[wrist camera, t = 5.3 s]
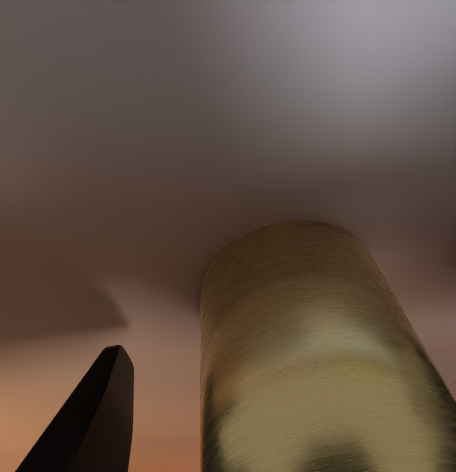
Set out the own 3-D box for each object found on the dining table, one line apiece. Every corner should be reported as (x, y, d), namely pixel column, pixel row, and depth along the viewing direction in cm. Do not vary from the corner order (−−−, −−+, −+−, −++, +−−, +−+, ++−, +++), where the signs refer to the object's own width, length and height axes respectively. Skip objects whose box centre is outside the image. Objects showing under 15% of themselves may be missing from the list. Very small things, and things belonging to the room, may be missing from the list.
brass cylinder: (372, 333, 12) (495, 601, 7) (219, 359, 12) (233, 632, 7) (380, 203, 9) (604, 508, 4) (179, 242, 9) (156, 567, 4)
